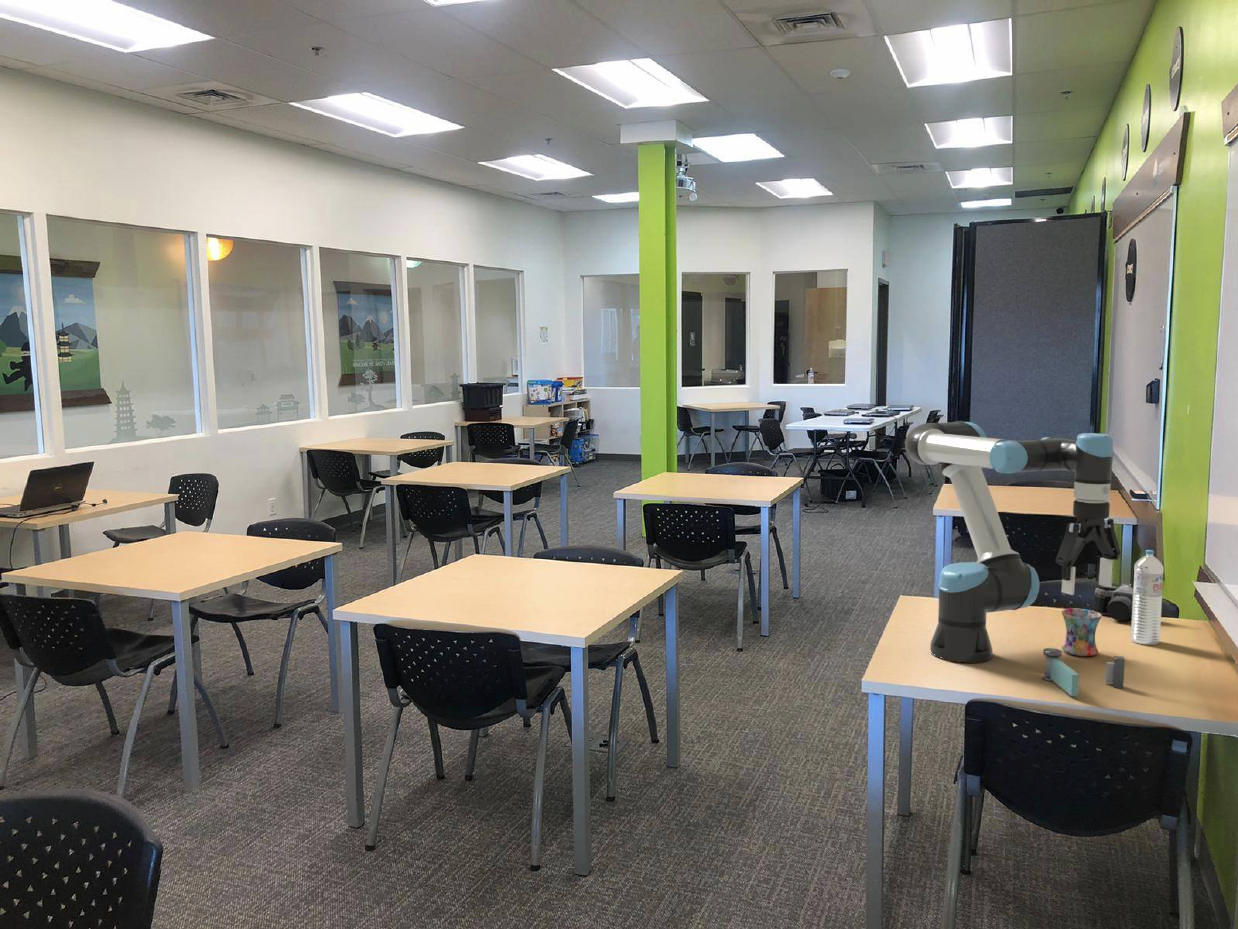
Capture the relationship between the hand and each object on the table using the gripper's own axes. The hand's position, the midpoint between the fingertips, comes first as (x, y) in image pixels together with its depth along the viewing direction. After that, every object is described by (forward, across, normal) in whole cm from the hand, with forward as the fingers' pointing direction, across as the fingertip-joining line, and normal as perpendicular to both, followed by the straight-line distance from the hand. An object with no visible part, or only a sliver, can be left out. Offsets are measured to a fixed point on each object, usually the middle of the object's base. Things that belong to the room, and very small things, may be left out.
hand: (1086, 589), depth 218 cm
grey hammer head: (+22, -5, +4) cm, 23 cm away
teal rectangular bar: (+22, -8, 0) cm, 23 cm away
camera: (+23, +56, +27) cm, 66 cm away
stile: (+22, +4, -7) cm, 23 cm away
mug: (+23, +20, +14) cm, 33 cm away
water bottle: (+23, +41, +11) cm, 48 cm away
